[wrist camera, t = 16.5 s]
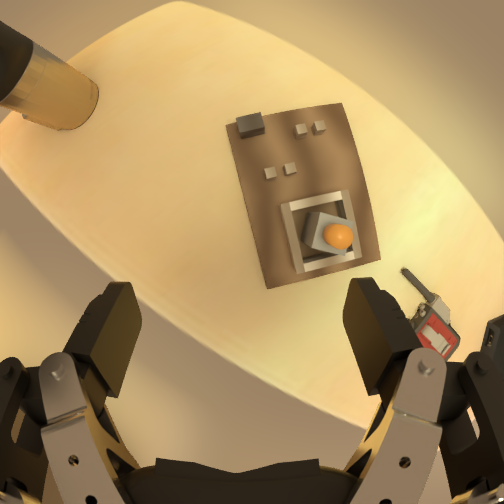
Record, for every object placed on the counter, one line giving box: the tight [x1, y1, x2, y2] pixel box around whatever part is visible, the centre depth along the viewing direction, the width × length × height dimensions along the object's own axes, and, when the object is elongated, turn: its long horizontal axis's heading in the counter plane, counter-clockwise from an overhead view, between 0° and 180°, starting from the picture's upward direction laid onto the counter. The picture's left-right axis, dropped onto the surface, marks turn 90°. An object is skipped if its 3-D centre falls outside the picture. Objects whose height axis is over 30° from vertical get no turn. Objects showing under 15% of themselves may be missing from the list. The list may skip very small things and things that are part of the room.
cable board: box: [226, 103, 381, 289], centre depth 33 cm, size 16×22×5 cm
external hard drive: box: [480, 315, 504, 381], centre depth 36 cm, size 13×19×4 cm
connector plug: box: [300, 212, 354, 256], centre depth 29 cm, size 4×4×11 cm
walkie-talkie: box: [403, 269, 460, 362], centre depth 35 cm, size 9×4×20 cm
